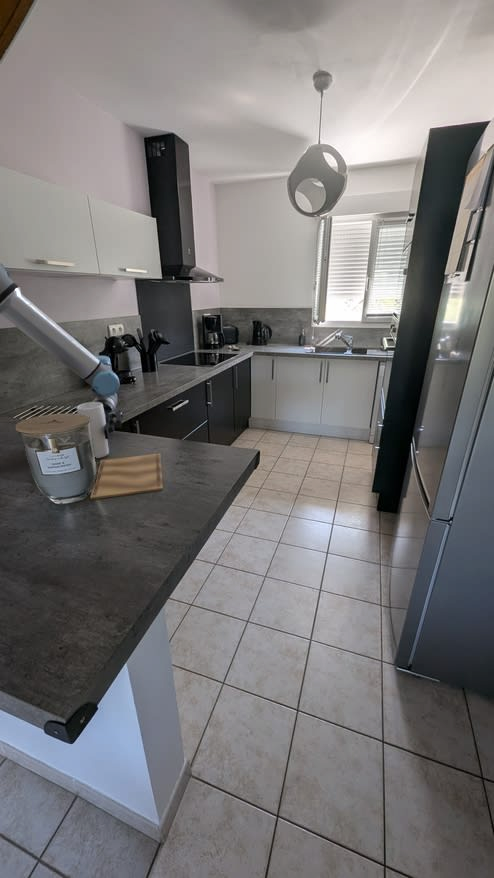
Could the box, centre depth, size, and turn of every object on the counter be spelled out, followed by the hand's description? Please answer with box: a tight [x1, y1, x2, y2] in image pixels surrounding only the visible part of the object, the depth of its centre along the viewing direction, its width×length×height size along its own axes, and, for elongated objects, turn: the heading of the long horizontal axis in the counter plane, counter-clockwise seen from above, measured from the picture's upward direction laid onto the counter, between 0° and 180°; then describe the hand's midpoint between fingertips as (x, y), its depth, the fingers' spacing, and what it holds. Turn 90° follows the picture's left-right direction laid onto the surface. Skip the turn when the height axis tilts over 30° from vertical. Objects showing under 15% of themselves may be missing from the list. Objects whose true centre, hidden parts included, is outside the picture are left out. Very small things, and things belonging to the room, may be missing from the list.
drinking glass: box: [76, 401, 110, 459], centre depth 100 cm, size 7×7×15 cm
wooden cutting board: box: [89, 453, 164, 501], centre depth 91 cm, size 20×16×1 cm
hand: (92, 435), depth 95 cm, fingers closed on drinking glass, 6 cm apart
